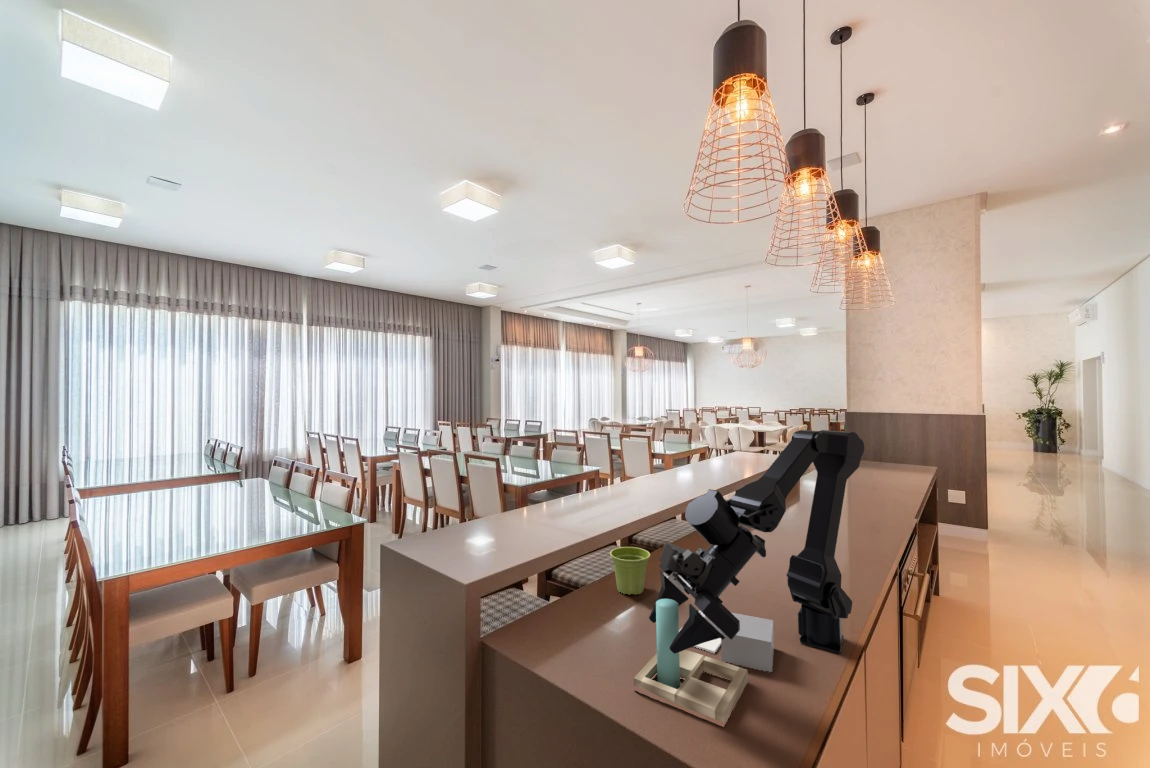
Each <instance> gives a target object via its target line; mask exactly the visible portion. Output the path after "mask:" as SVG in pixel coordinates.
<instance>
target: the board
mask: <svg viewBox="0 0 1150 768" xmlns="http://www.w3.org/2000/svg"><path fill="white" fill-rule="evenodd" d="M679 658H680V677H681V678H685V680H684V681H683V682H682V683H681V684H680V687H679V689H675V688H673V687H670V686H667V685H665V684H662V683H660V682H657V681H656V680H655V679H654V680H652V679H651V678H652V677H653V676H654V675H655V674H656V673H657V652H656V653H655V654H654V656H653V657H652V658H651V659H650V660H649V661H648V662H647V663H646V664H645V665H644V666H643V667H642V669H641V670H640V671H639V672H638V673H637V674H636V675H635V676H634V677H633V687H634V686H637V687H639V688H642V689H644V690H646V691H648V692H650V693H652V694H655V695H657V696H659V697H662V698H665V699H667V700H669V701H671V702H673V703H676V704H679V705H681V706H683V707H685V708H687V709H689V710H693V711H695V712H698V713H701V714H703V715H706V716H709V717H711V718H714V719H716V720H719V721H722V722H723V723H724V722H725V720H726V719H727V717H728V715H729V714H730V712H731V710H732V709H733V707H734V705H735V703H736V702H737V700H738V698H739V696H740V694H741V693H742V691H743V689H744V687H745V686H746V687H747V685H746V683H747V682H748V681H749V679H748V678H749V676H748V669H747V668H743V667H741V666H738V665H735V664H730V663H726V662H722V660H718V659H715V658H713V657H709V656H706V655H703V654H701V653H697V652H694V651H692V650H691V651H690V650H689V649H686V650H683V651H681V652H679ZM703 671H705V672H708V673H711V674H715V675H718V676H721V677H724V678H727V679H730V680H732V681H730V683H729V684H728V686H727V688H726V689H725V688H723V687H720V686H717V685H714V684H712V683H708V682H706V681H704V680H701V679H700V678H699V676H700V675H701V674H702V672H703ZM705 672H703V673H705ZM708 673H707V674H708ZM711 674H710V675H711ZM702 675H703V674H702ZM702 675H701V676H702ZM698 678H699V679H698ZM748 683H749V682H748ZM748 683H747V684H748ZM746 687H745V688H746ZM744 690H745V689H744ZM743 692H744V691H743ZM742 694H743V693H742ZM740 697H741V696H740ZM739 699H740V698H739ZM738 701H739V700H738ZM737 703H738V702H737Z"/></svg>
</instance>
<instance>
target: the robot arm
mask: <svg viewBox="0 0 1150 768" xmlns="http://www.w3.org/2000/svg"><path fill="white" fill-rule="evenodd" d="M864 443H865V442H864V441H863V439H861V438H860V436H859V435H858V433H856V432H854V431H845V430H844V431H842V430H841V431H840V430H828V429H827V430H826V429H822V430H810V429H809V430H807V429H805V430H804V429H800V430H796V431H795V432H793V433H792V436H791V440H790V441H789V443H788V444H787V445H786V446H785V448H784V449H783V450H782V451H781V453H780V454H779V455H778V456H777V457H776V459H775V460H774V461H773V462H772V464H771V465H769V467H768V469H767V470H766V471H765V472H764V473H763V475H762V476H761V477H759V479H757V480H755V481H752V482H749V483H747V484H745V485H744V486H743V487H741V488H740V489H739V490H738V491H737V492H735V494H733V496H732V497H731V498H730V499H729V498H728V499H727V500H726V499H725V498H724V495H723V494H722V493H721V492H720V491H719V490H715V489H711V488H710V489H708V490H707V491H706V493H705V494H702V495H699V496H698V497H696V498H694V499H693V500H692V501H690V502H688V504H687V506H686V508H685V513H684V514H685V515H684V516H685V517H684V518H685V520H686V521H687V523H688V524H690V526H691V527H692V528H693V529H695V531H696V532H697V533H698V534H699V535H700V536H701V537H702V538H703V539H704V540H705V541H706V542H707V543H708V544H710V545H709V547H708V548H707V549H704V548H703V547H701V548H697V550H696V551H694V552H693V551H692V550H691V549H689V548H688V549H686V548H684V547H681V546H679V545H676V544H674V543H672V542H669V541H666V542H665V544H664V547H663V550H662V551H661V553H660V556H659V562H661V563H660V564H659V565H658V567H659V568H660V569H661V570H660V571H659V575H660V581H661V587H660V590H659V593H658V594H657V597H656V600H655V602H654V605H653V608H652V610H651V612H650V613H649V614H650V615H649V616H648V619H649V620H650V622H651V623H653V624H655V623H656V601H658V600H660V599H672V600H674V601H676V602H677V603H678V607H680V606H681V605H682V604H684V603H685V602H687V601H688V600H689V599H690V598H689V597H688V596H687V595H690V596H691V597H692V598H693V599H694V605H695V606H696V607H697V608H698V609H697V608H696V607H695V606H694V605H692V604H691V603H689V608H688V609H689V610H688V611H689V615H688V619H687V620H686V622H685V623H684V625H682V626H681V628H682V629H681V628H680V629H681V630H680V629H679V630H680V632H679V633H678V634H677V636H676V637H675V639H674V640H673V642H672V644H671V646H670V647H669V649H670V650H671V651H672V652H673V653H674V654H675V653H678V652H681V651H683V650H689V649H690V648H694V647H693V646H696V645H699V644H701V643H704V642H708V641H711V640H715V639H718V638H721V639H722V640H723V639H725V637H724V636H723V635H722V633H724V634H725V635H727V636H728V637H729V638H730V639H731V640H732V639H733V638H734V637H735V635H736V634H737V633H738V632H739V630H740V621H739V620H738V619H737V618H736V617H735V616H734V615H733V614H732V613H733V612H731V611H730V610H729V609H728V608H727V607H726V606H725V605H724V604H723V603H724V601H723V600H722V599H721V598H720V596H721V595H722V593H724V591H725V590H726V589H727V588H728V587H729V585H730V584H731V585H734V586H735V587H736V586H737V585H739V583H740V580H739V579H738V578H737V577H736V576H738V574H739V573H740V572H741V570H742V569H743V568H745V566H746V564H748V563H749V561H750V560H751V558H753V556H754V555H755V554H757V555H758V556H760V557H762V558H765V557H767V549H766V546H765V545H766V540H765V539H764V538H763V537H761V536H759V535H757V534H753V533H752V532H751V531H750V529H753V530H756V531H758V532H762V533H773V532H774V531H775V530H776V529H777V528H778V526H779V525H780V523H781V520H782V519H783V517H784V515H785V513H786V511H787V509H786V499H787V497H788V495H789V494H790V493H791V491H792V490H793V489H794V487H795V486H796V485H797V483H798V482H799V481H800V479H802V476H803V475H804V474H805V473H806V471H807V470H808V469H809V468H810V466H811V465H812V464H813V466H814V468H815V471H816V480H815V486H814V491H813V497H812V502H811V507H810V508H811V509H810V515H809V520H808V524H807V525H808V526H807V530H806V531H807V532H806V537H805V542H804V547H803V549H802V550H801V551H800V552H799V553H798V555H796V554H795V555H794V554H792V555H791V557H789V563H788V564H789V565H788V570H787V573H786V577H787V580H786V582H787V583H786V584H787V587H788V589H789V592H790V596H791V599H792V601H793V602H795V603H798V604H800V607H799V610H798V612H797V620H798V621H797V622H798V623H797V624H798V625H797V626H798V627H797V629H798V635H799V636H800V638H799V643H801V644H803V645H807V646H811V647H814V648H816V649H817V648H818V649H822V650H824V651H828V652H832V653H836V654H841V651H842V647H843V643H844V640H845V639H844V635H843V632H842V631H843V630H842V629H843V626H842V619H844V620H845V619H848V618H849V615H850V614H851V613H852V609H853V608H852V607H853V600H852V599H851V598H850V596H849V595H848V594H847V593H846V592H845V591H844V590H843V588H842V573H841V570H840V567H839V566H838V563H837V561H836V558H835V555H836V548H837V542H838V535H839V530H840V523H841V517H842V513H843V512H842V511H843V504H844V499H845V492H846V487H847V481H848V479H849V478H850V477H851V476H852V475H853V474H854V473H855V472H856V471H858V469H859V467H860V464H861V460H862V456H863V455H864V452H865V444H864ZM748 528H749V529H748ZM662 571H663V572H662ZM685 593H686V594H687V595H686V594H685Z"/></svg>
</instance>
